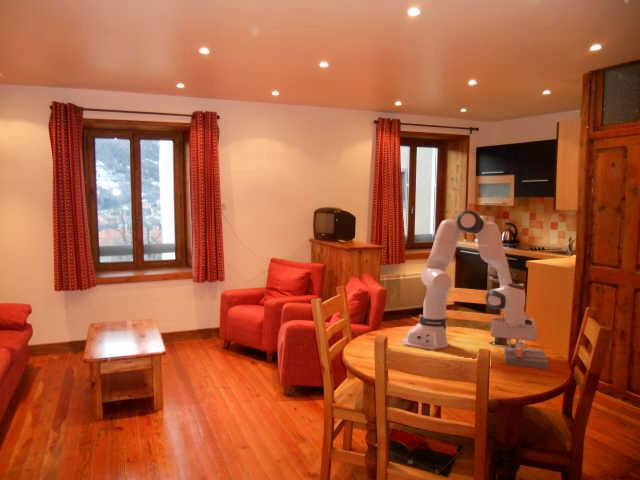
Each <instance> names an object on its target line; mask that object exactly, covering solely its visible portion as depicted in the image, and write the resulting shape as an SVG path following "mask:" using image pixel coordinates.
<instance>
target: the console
mask: <svg viewBox="0 0 640 480" xmlns="http://www.w3.org/2000/svg"><path fill="white" fill-rule="evenodd" d="M514 350H515V348H510V346H507V345H506V346H504V351H503V352H504V358H505V364H506V363H507V364H506V366H512V367H513V366H514V367H515V366H516V367H526V368H533V369H534V368H535V369H545V370H548V369H549V360H548V358H547V356H546V353H545V351H544V350H543V349H537V348H526V347H525V352H523V357H522V358H521V357H515V354H514Z"/></svg>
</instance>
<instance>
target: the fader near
mask: <svg viewBox="0 0 640 480" xmlns="http://www.w3.org/2000/svg"><path fill="white" fill-rule="evenodd" d="M514 354H515V357H521V358H522V357H523V349H522V347H520V346H515V350H514Z"/></svg>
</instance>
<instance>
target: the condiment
mask: <svg viewBox="0 0 640 480" xmlns="http://www.w3.org/2000/svg"><path fill="white" fill-rule="evenodd" d="M493 342H494V343H495V344H492V345H493V346H496V347H499V348H501V347H505V346H506V347H507V346H510V344H509V342H508V338H498V337H494V341H490V342H488V344H490V343H493Z"/></svg>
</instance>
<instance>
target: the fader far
mask: <svg viewBox="0 0 640 480" xmlns="http://www.w3.org/2000/svg"><path fill="white" fill-rule="evenodd" d="M517 346H520V347H522V349H523V352H525V348H526V343H525V341H524V340H522V341H521V340H519V343H518V344H517Z"/></svg>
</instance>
